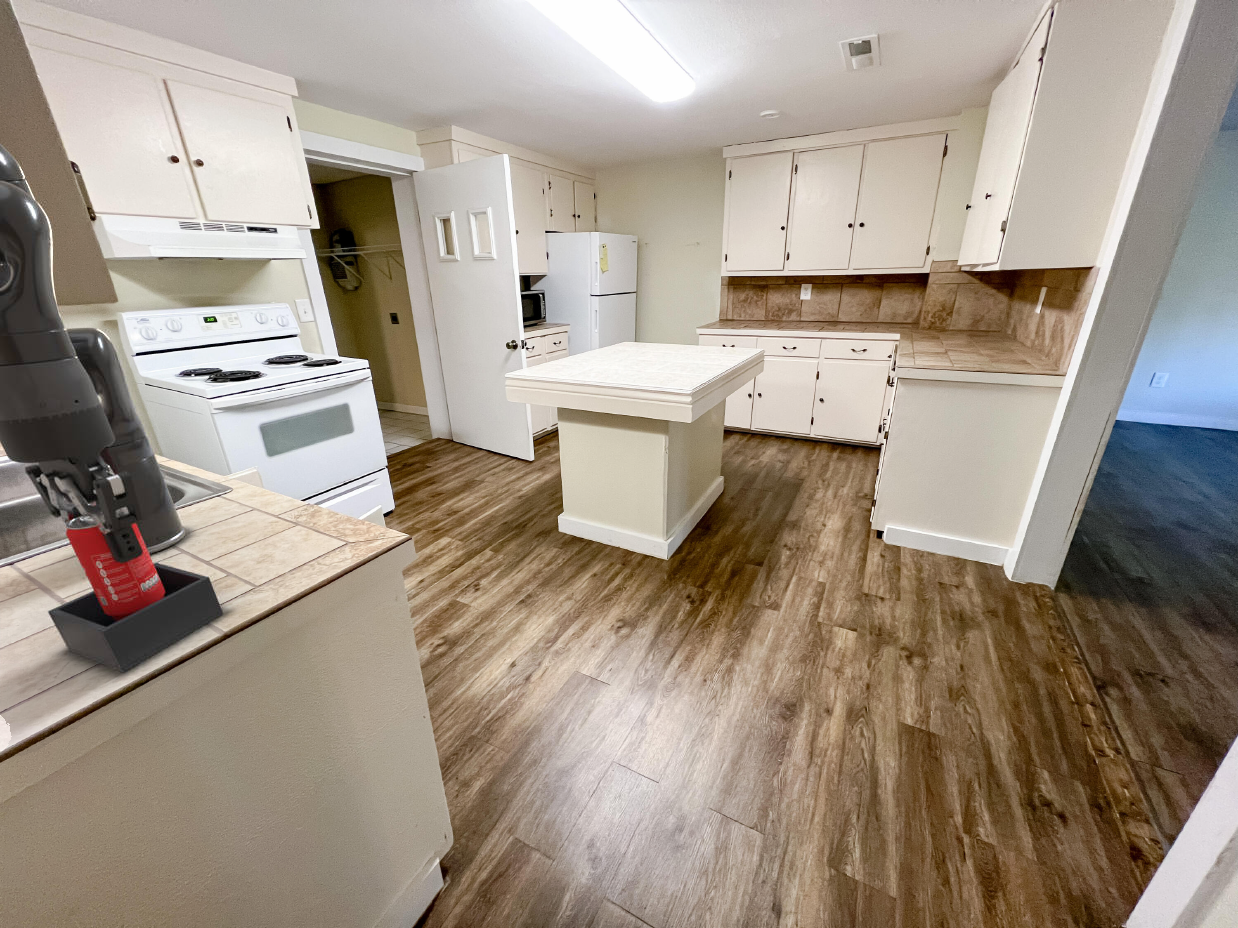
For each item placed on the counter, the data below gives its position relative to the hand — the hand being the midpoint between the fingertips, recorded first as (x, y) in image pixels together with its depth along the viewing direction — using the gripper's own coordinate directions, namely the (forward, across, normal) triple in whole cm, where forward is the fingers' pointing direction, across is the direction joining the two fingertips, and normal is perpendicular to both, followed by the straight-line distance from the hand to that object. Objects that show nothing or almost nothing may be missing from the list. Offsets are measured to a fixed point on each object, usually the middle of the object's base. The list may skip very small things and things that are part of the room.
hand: (113, 553), depth 54 cm
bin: (+11, 0, 0) cm, 11 cm away
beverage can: (+8, 0, 0) cm, 8 cm away
